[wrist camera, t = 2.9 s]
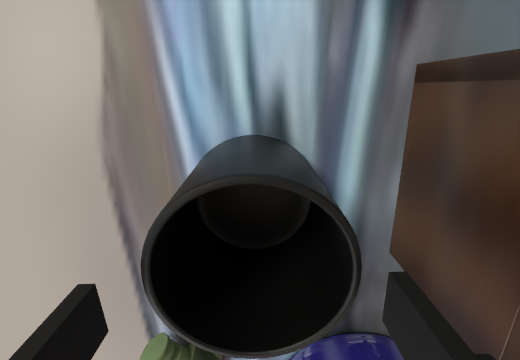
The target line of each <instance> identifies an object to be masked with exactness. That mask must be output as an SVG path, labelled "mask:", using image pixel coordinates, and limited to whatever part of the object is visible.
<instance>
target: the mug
mask: <svg viewBox="0 0 520 360" xmlns="http://www.w3.org/2000/svg"><path fill="white" fill-rule="evenodd" d="M361 269H362V263H361V253H360V248H359V245H358V241H357V238H356V235H355V233H354V231H353V229H352V227H351V225H350V224H349V222H348V220H347V219H346V217H345V216H344V214H343V213H342V212H341V210H340V209H339V207H338V206H337V204H336V203H335V201H334V200H333V198H332V197H331V195H330V194H329V192H328V191H327V189H326V188H325V186H324V185H323V183H322V182H321V181H320V179H319V178H318V176H317V175H316V173H315V172H314V170H313V169H312V167H311V166H310V164H309V163H308V162H307V160H306V159H305V158H304V156H303V155H301V154H300V153H299V152H298V151H297V150H296V149H295V148H293V147H292V146H290V145H289V144H287V143H285V142H283V141H280V140H278V139H275V138H271V137H268V136H260V135H246V136H240V137H236V138H232V139H230V140H227V141H224V142H223V143H221V144H219V145H217V146H216V147H214V148H213V149H212V150H211V151H209V152H208V153H207V154H206V155H205V156H204V157H203V159H202V160H201V161H200V162H199V164H198V165H197V166H196V167H195V169H194V170H193V171H192V173H191V174H190V175H189V176H188V178H187V179H186V180H185V182H184V183H183V184H182V185H181V187H180V188H179V189H178V191H177V192H176V193H175V195H174V196H173V197H172V198H171V200H170V201H169V202H168V204H167V205H166V206H165V207H164V209H163V210H162V211H161V213H160V214H159V215H158V217H157V218H156V219H155V221H154V223H153V224H152V226H151V228H150V230H149V231H148V234H147V237H146V240H145V242H144V246H143V251H142V258H141V276H142V282H143V286H144V290H145V293H146V295H147V298H148V300H149V302H150V304H151V306H152V308H153V309H154V311H155V312H156V314H157V315H158V317H159V318H160V319H161V320H162V321H163V322H164V323H165V324H166V325H167V326H168V327H169V328H170V329H171V330H172V331H173V332H174V333H176V334H177V335H178V336H179V337H181V338H183V339H184V340H186V341H187V342H189V343H191V344H193V345H195V346H197V347H199V348H201V349H203V350H206V351H209V352H212V353H215V354H219V355H223V356H228V357H234V358H246V359H255V358H269V357H275V356H280V355H284V354H288V353H291V352H295V351H297V350H299V349H302V348H304V347H306V346H308V345H310V344H312V343H314V342H316V341H317V340H319V339H321V338H322V337H323V336H325V335H326V334H327V333H329V332H330V331H331V330H332V329H333V328H334V327H335V326H336V325H337V324H338V323H339V322H340V321H341V320H342V319H343V318H344V316H345V315H346V313H347V312H348V311H349V309H350V307H351V306H352V303H353V301H354V299H355V297H356V295H357V292H358V288H359V285H360V280H361Z"/></svg>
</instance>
